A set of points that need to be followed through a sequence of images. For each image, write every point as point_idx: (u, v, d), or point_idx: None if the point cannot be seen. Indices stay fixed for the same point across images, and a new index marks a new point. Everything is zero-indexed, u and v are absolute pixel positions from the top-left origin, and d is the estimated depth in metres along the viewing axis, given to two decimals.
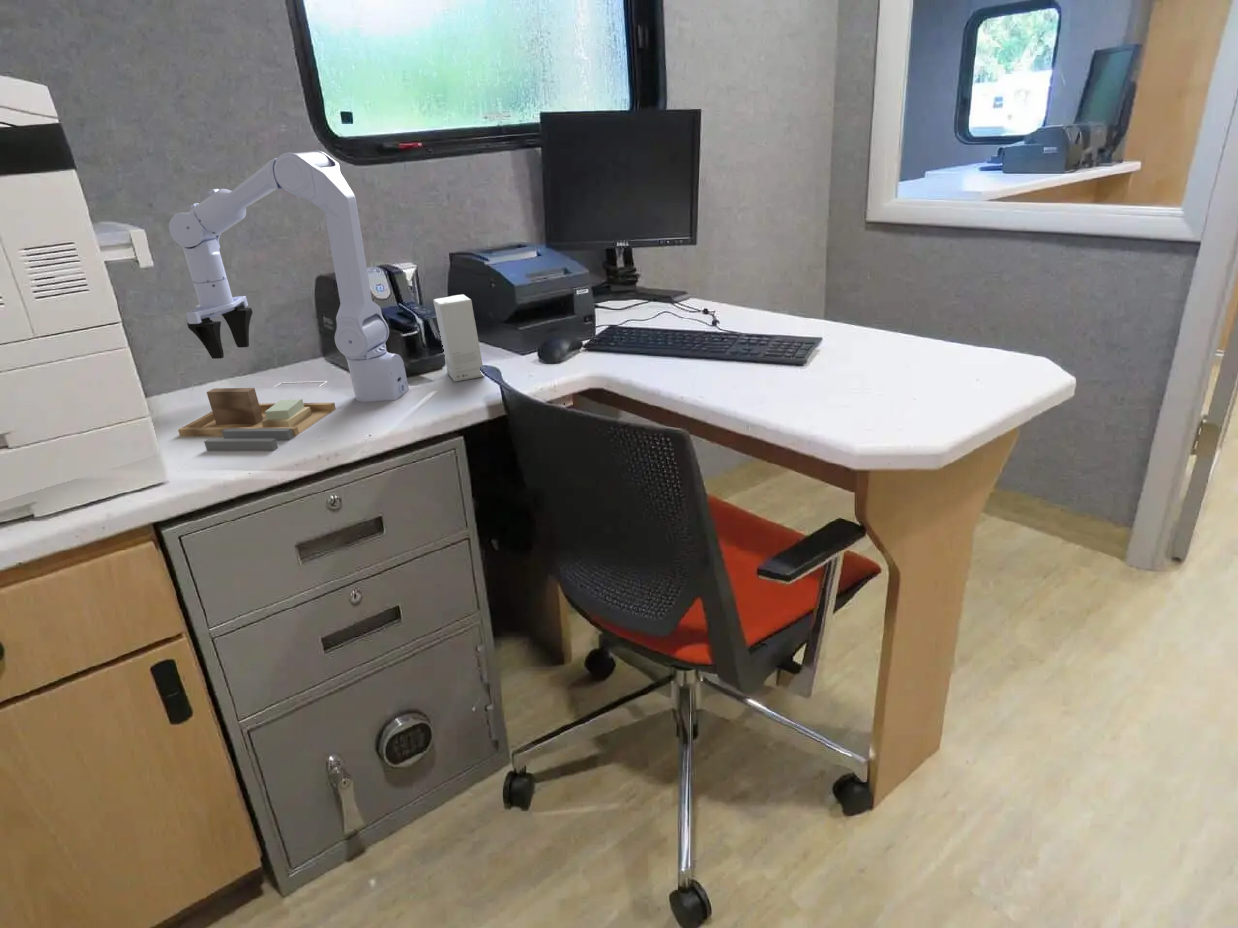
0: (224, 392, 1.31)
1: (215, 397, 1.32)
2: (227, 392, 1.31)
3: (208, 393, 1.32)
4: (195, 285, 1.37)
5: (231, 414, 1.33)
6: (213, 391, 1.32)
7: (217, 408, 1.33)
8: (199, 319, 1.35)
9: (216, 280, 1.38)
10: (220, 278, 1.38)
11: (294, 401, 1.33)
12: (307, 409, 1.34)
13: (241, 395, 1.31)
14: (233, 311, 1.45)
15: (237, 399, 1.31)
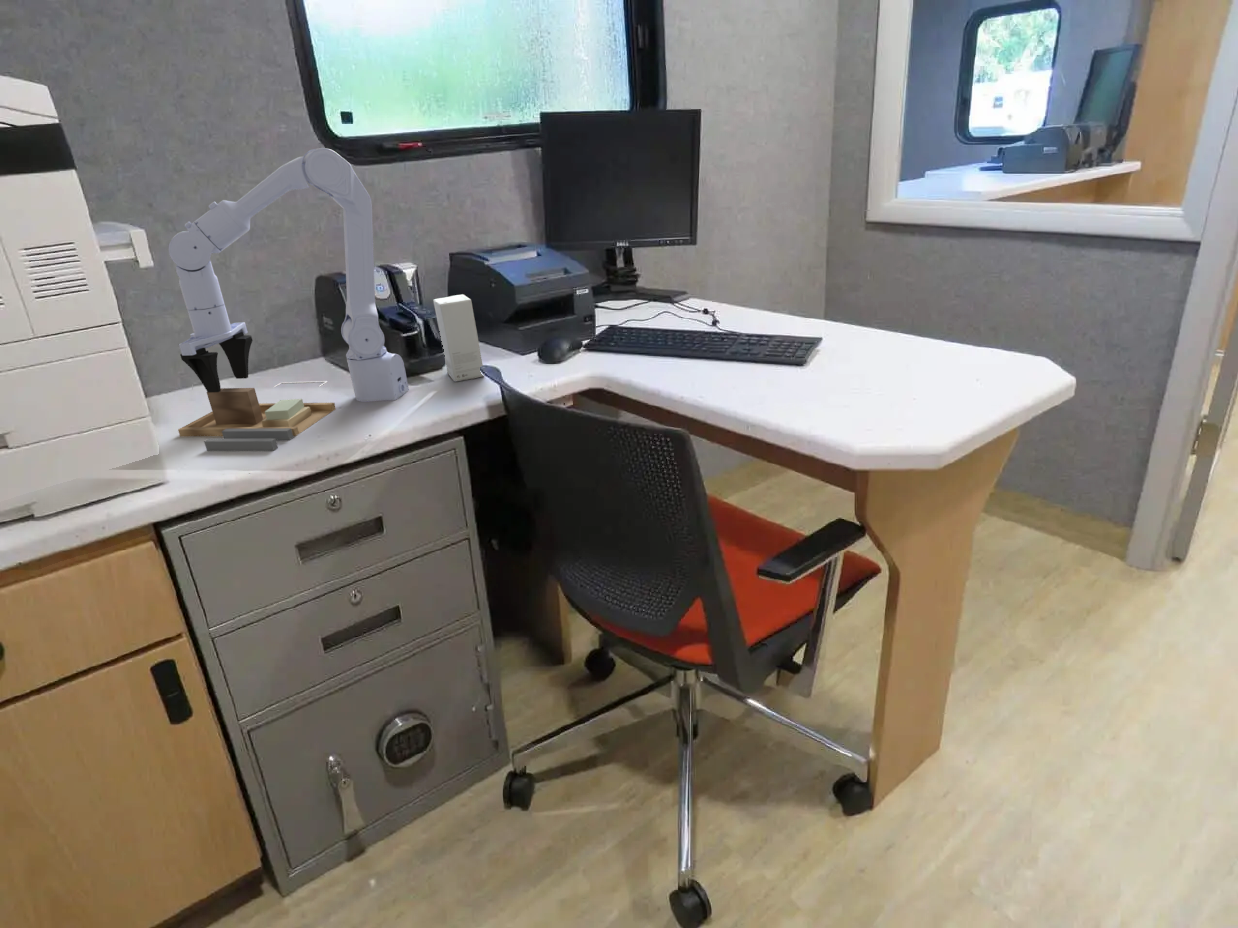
0: (224, 392, 1.31)
1: (215, 397, 1.32)
2: (227, 392, 1.31)
3: (208, 393, 1.32)
4: (189, 312, 1.24)
5: (231, 414, 1.33)
6: None
7: (217, 408, 1.33)
8: (193, 350, 1.22)
9: (213, 307, 1.24)
10: (223, 302, 1.27)
11: (294, 401, 1.33)
12: (307, 409, 1.34)
13: (241, 395, 1.31)
14: (231, 339, 1.32)
15: (237, 399, 1.31)
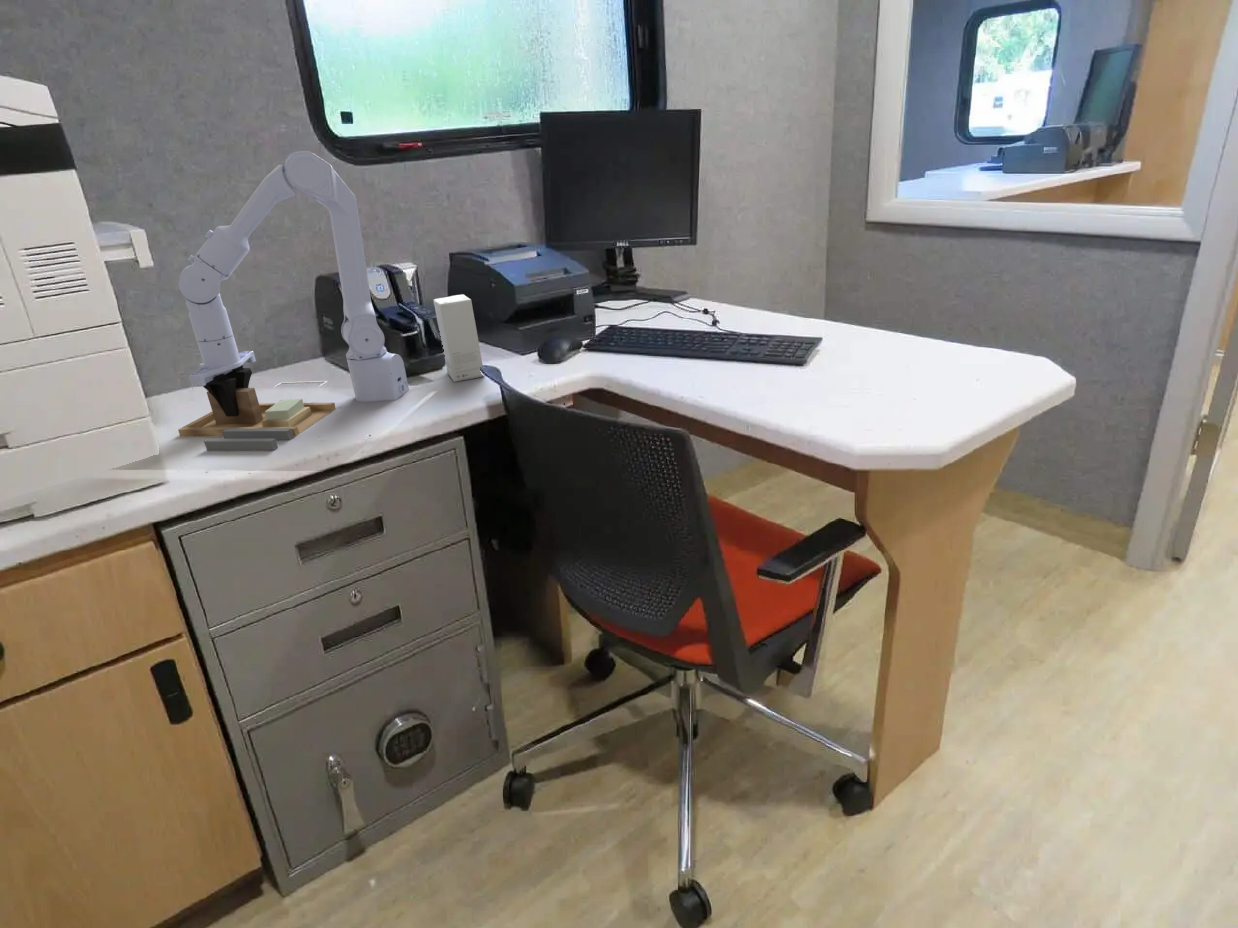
0: None
1: None
2: None
3: (208, 393, 1.32)
4: (199, 343, 1.27)
5: None
6: None
7: (217, 408, 1.33)
8: (203, 381, 1.25)
9: (222, 338, 1.27)
10: (232, 333, 1.29)
11: (294, 401, 1.33)
12: (307, 409, 1.34)
13: (241, 395, 1.31)
14: (230, 372, 1.32)
15: (237, 399, 1.31)
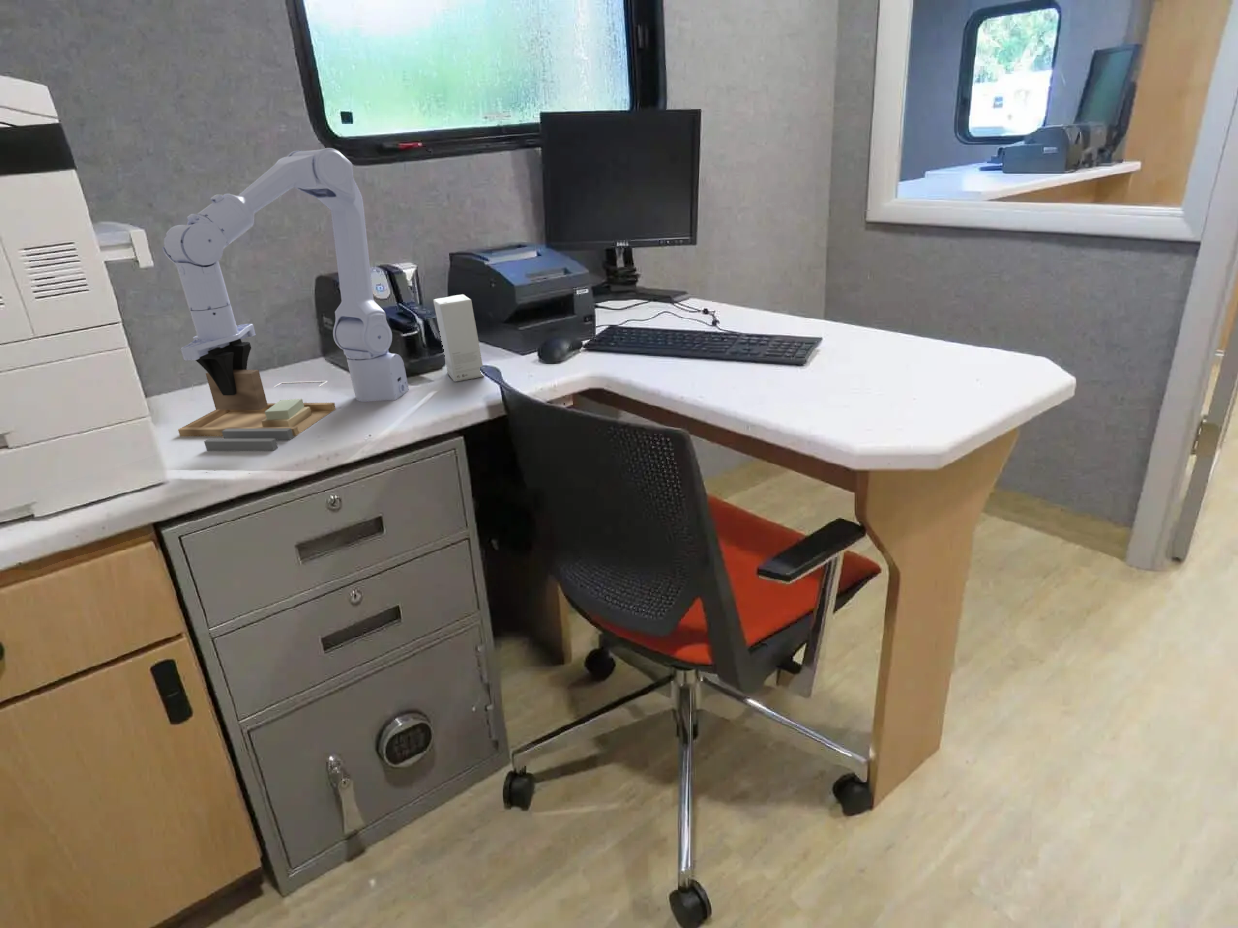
0: None
1: None
2: None
3: (207, 375, 1.19)
4: (192, 313, 1.14)
5: (233, 398, 1.20)
6: None
7: (217, 391, 1.20)
8: (197, 355, 1.12)
9: (217, 307, 1.14)
10: None
11: (294, 401, 1.33)
12: (307, 409, 1.34)
13: (243, 378, 1.18)
14: (227, 347, 1.19)
15: (239, 382, 1.19)
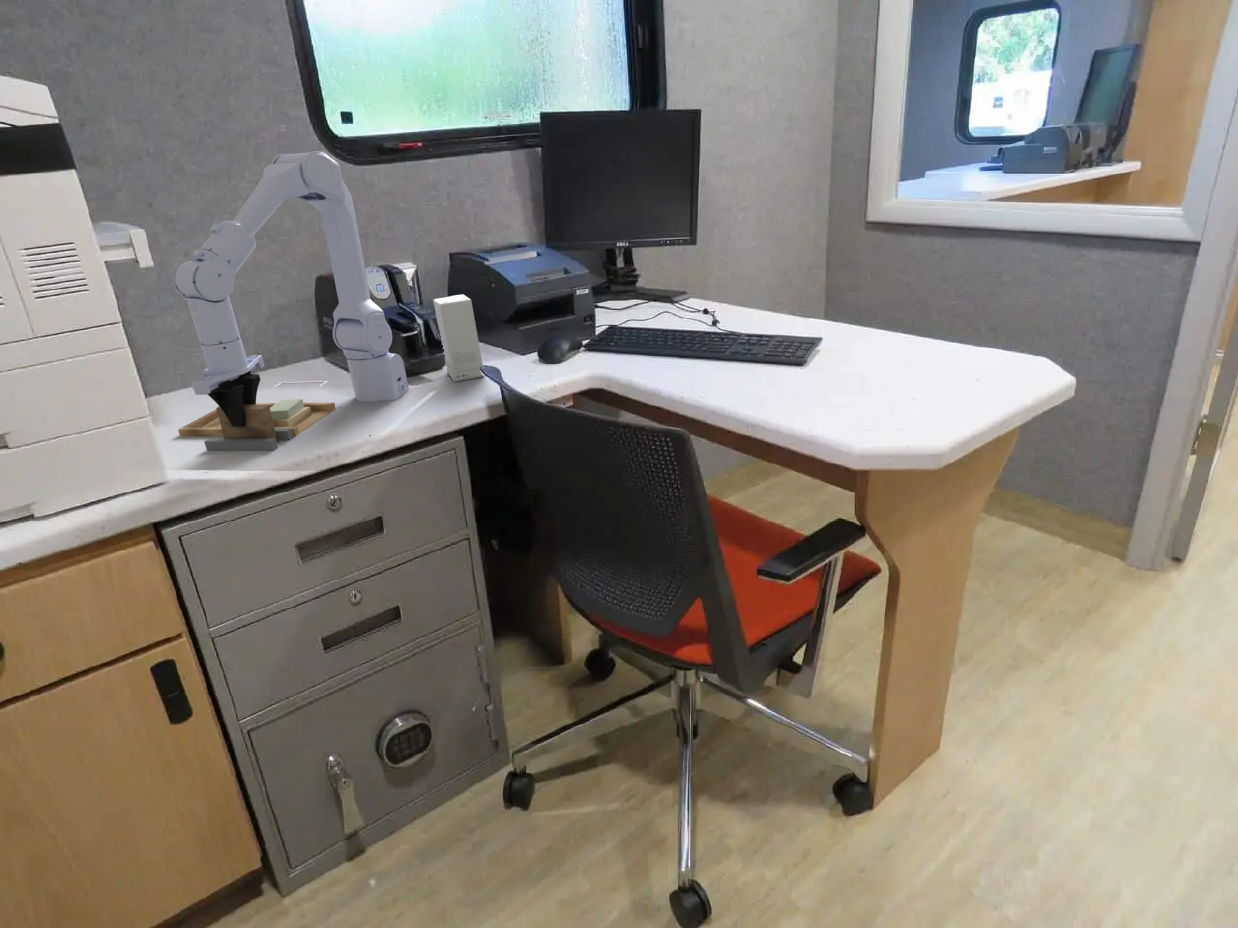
0: None
1: None
2: None
3: (218, 409, 1.21)
4: (203, 347, 1.15)
5: (243, 432, 1.22)
6: None
7: (227, 425, 1.22)
8: (208, 389, 1.13)
9: (228, 341, 1.15)
10: None
11: (294, 401, 1.33)
12: (307, 409, 1.34)
13: (254, 413, 1.20)
14: (237, 379, 1.21)
15: (250, 416, 1.20)
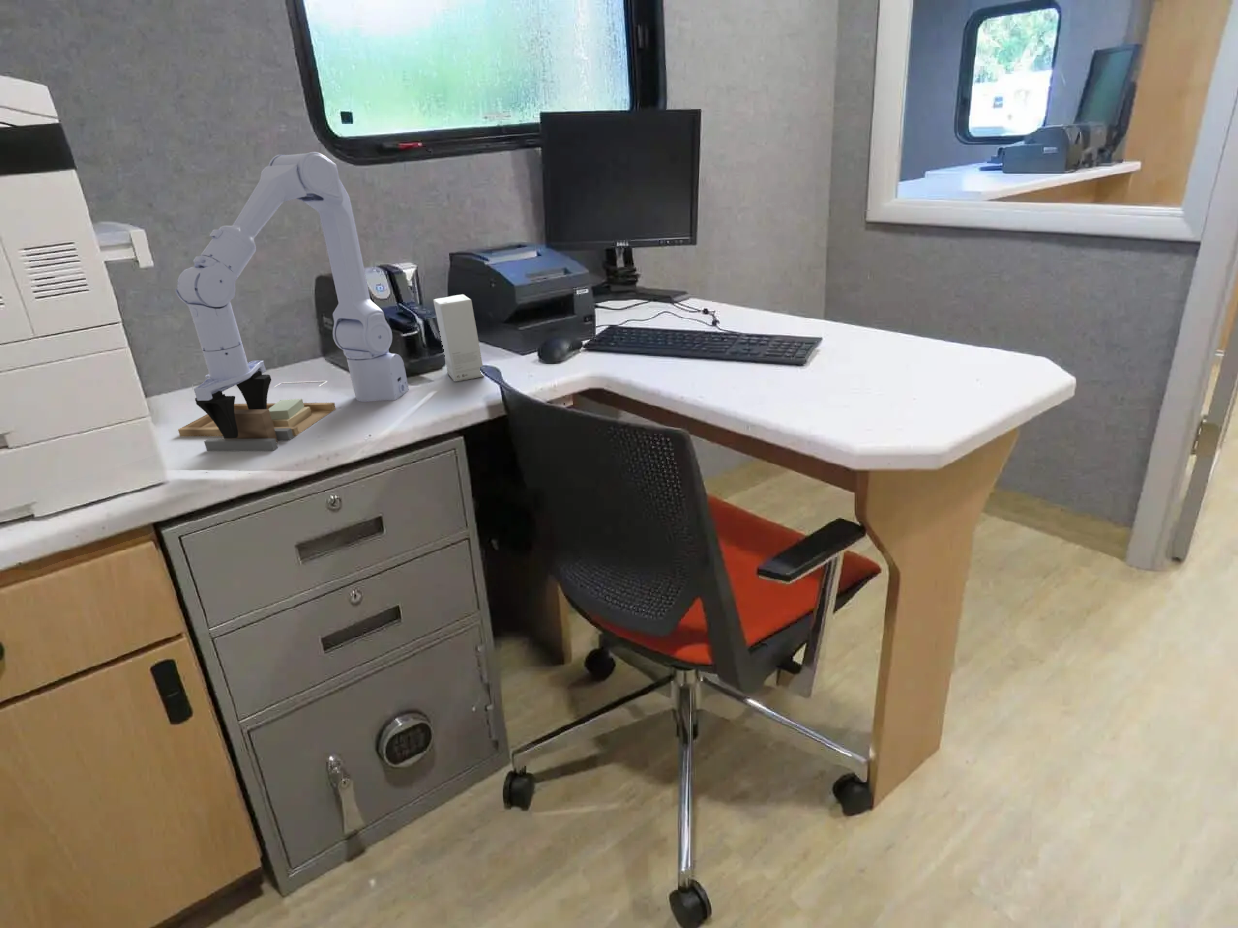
0: (236, 414, 1.21)
1: None
2: (239, 414, 1.21)
3: None
4: (205, 353, 1.15)
5: (244, 438, 1.22)
6: None
7: None
8: (210, 395, 1.13)
9: (230, 347, 1.16)
10: None
11: (294, 401, 1.33)
12: (307, 409, 1.34)
13: (254, 418, 1.20)
14: (249, 379, 1.23)
15: (250, 421, 1.21)
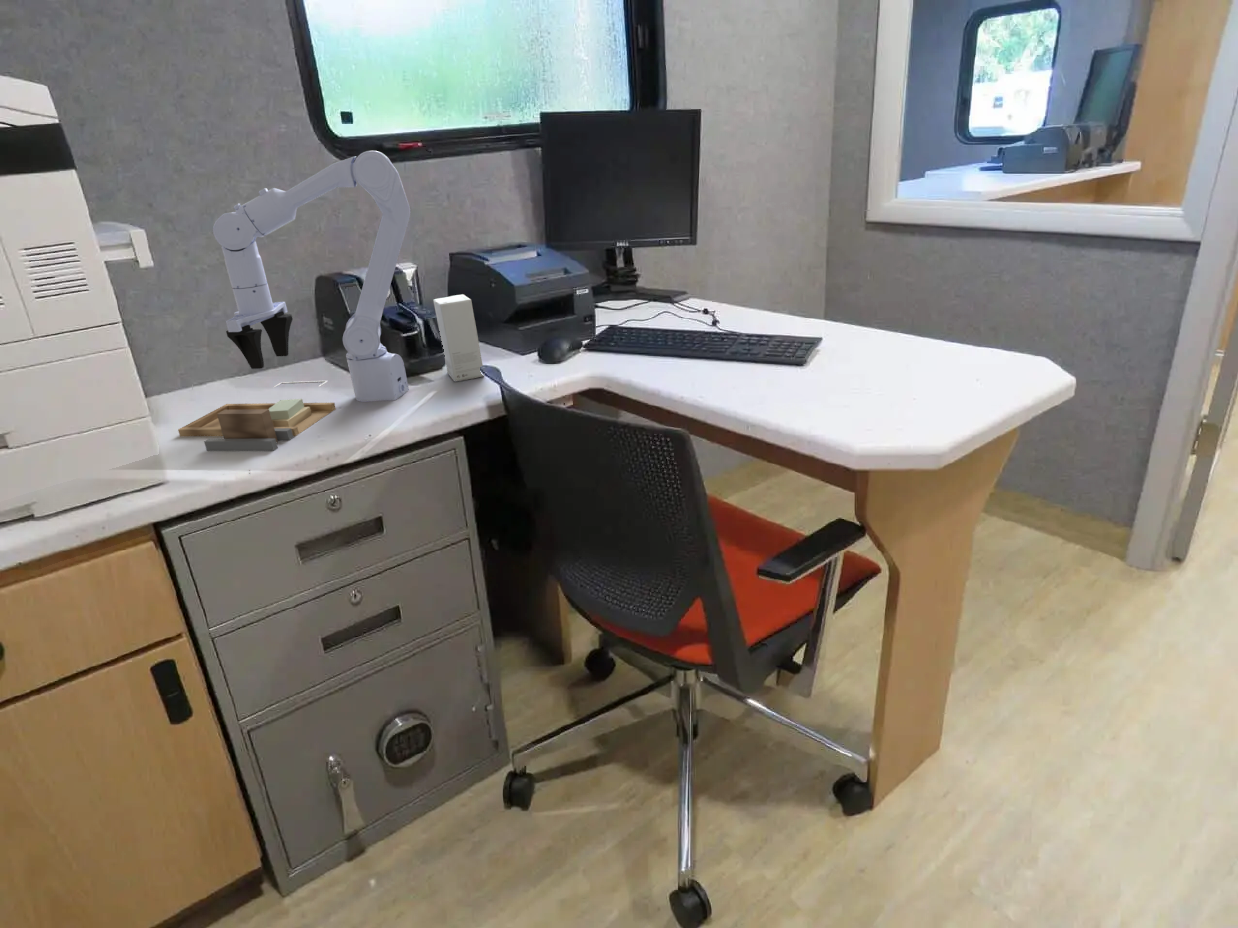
0: (236, 414, 1.21)
1: (226, 419, 1.22)
2: (239, 414, 1.21)
3: (218, 415, 1.21)
4: (234, 291, 1.29)
5: (244, 438, 1.22)
6: (224, 413, 1.22)
7: (228, 431, 1.22)
8: (240, 327, 1.27)
9: (257, 285, 1.29)
10: (265, 282, 1.31)
11: (294, 401, 1.33)
12: (307, 409, 1.34)
13: (254, 418, 1.20)
14: (272, 318, 1.37)
15: (250, 421, 1.21)
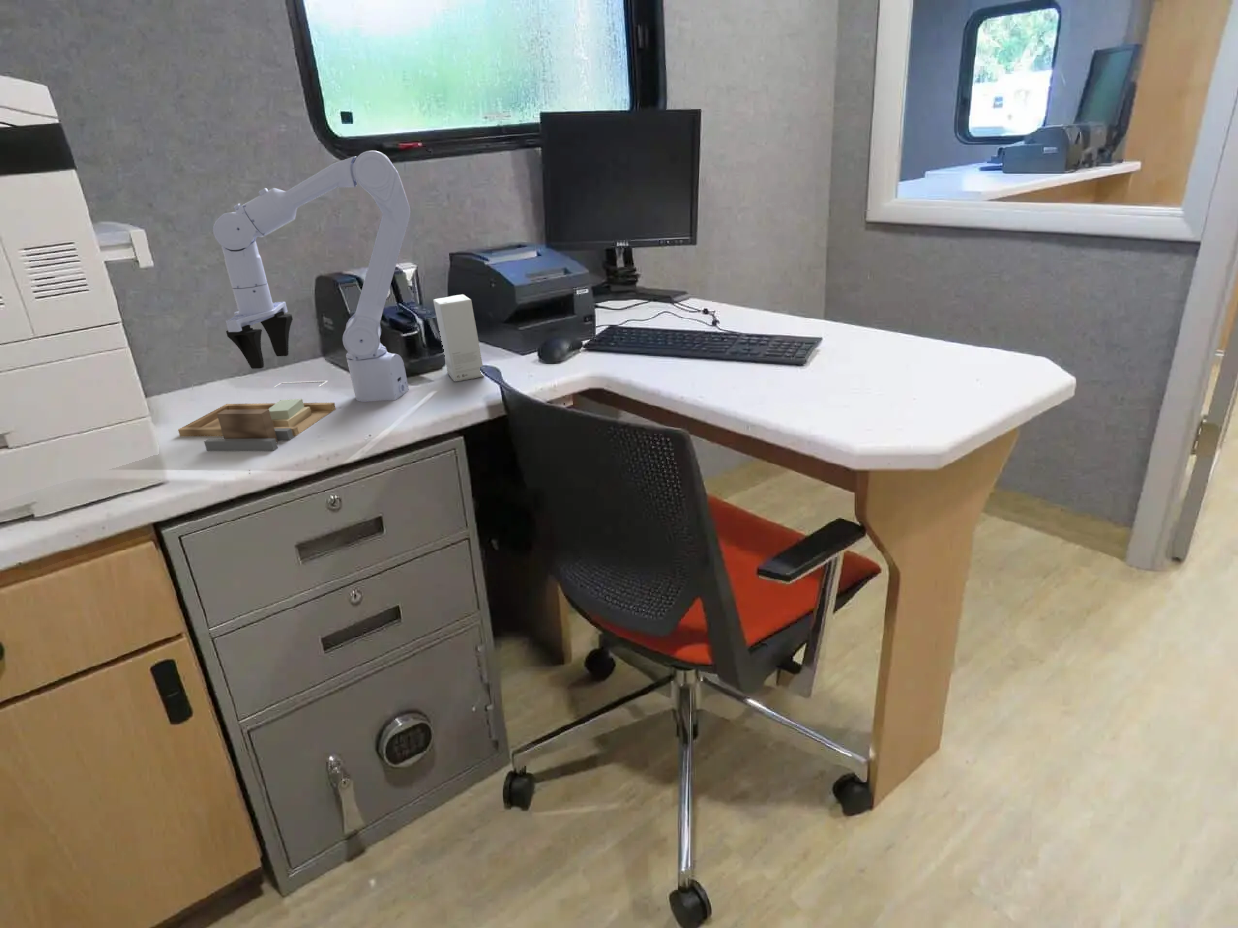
0: (236, 414, 1.21)
1: (226, 419, 1.22)
2: (239, 414, 1.21)
3: (218, 415, 1.21)
4: (235, 291, 1.29)
5: (244, 438, 1.22)
6: (224, 413, 1.22)
7: (228, 431, 1.22)
8: (239, 327, 1.27)
9: (257, 285, 1.29)
10: (265, 282, 1.31)
11: (294, 401, 1.33)
12: (307, 409, 1.34)
13: (254, 418, 1.20)
14: (272, 318, 1.37)
15: (250, 421, 1.21)
